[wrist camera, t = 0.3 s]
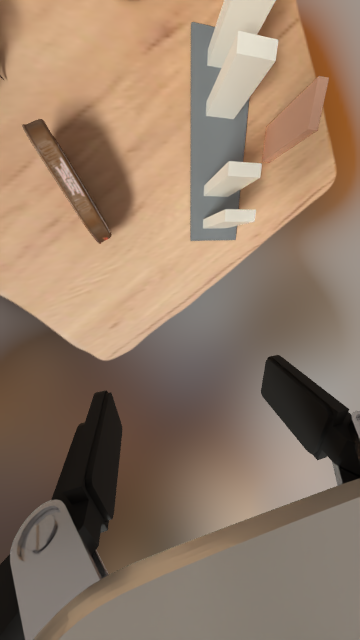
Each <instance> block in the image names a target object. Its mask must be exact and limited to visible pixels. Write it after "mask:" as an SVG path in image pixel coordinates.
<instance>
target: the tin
mask: <svg viewBox="0 0 360 640" xmlns="http://www.w3.org/2000/svg"><path fill="white" fill-rule="evenodd" d="M22 127H23V129H24V131H25V133H26V134H27V136H28V138H29V139H30V141H31V143H32V144H33V146H34V148H35V149H36V151H37V152H38V154H39V155H40V157H41V159H42V160H43V162H44V163H45V165H46V166H47V168H48V170H49V171H50V173H51V174H52V176H53V177H54V179H55V180H56V182H57V183H58V185H59V187H60V188H61V190H62V191H63V193H64V194H65V196H66V198H67V199H68V201H69V202H70V204H71V205H72V207H73V209H74V210H75V212H76V213H77V215H78V216H79V218H80V219H81V221H82V222H83V224H84V225H85V227H86V228H87V229H88V231H89V232H90V233H91V235H92V236H93V237H94V238H95V240H96V241H97V242H98V243H99V244H101V242H103V241H105V240H107V239H109V238H110V237H111V232H110V230H109V228H108V227H107V225H106V223H105V221H104V220H103V218H102V216H101V214H100V213H99V211H98V209H97V207H96V206H95V204H94V202H93V200H92V199H91V197H90V195H89V193H88V192H87V190H86V188H85V187H84V185H83V183H82V182H81V180H80V178H79V177H78V175H77V173H76V172H75V170H74V168H73V167H72V165H71V163H70V162H69V160H68V158H67V157H66V155H65V154H64V152H63V150H62V149H61V147H60V145H59V144H58V142H57V141H56V139H55V138H54V137H53V136H52V134H51V132H50V131H49V129H48V127H47V125H46V124H45V122H44V121H43V120H42V119H39V120H36V121H33V122H31V123H29V124H27V125H24V124H23V125H22Z"/></svg>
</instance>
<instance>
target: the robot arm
mask: <svg viewBox="0 0 360 640" xmlns="http://www.w3.org/2000/svg"><path fill="white" fill-rule="evenodd" d="M261 394H262V396H263V397H264V399H265V400H266V401H267V402H268V404H269V405H270V406H271V407H272V408H273V410H274V411H275V412H276V413H277V415H278V416H279V417H280V418H281V420H282V421H283V422H284V423H285V424H286V426H287V427H288V428H289V429H290V431H291V432H292V433H293V434H294V435H295V437H296V438H297V439H298V440H299V442H300V443H301V444H302V445H303V446H304V448H305V449H306V450H307V451H308V452H309V453H311V454H313V455H314V457H315V458H316V459H317V460H319V459H322V458H325V457H327V456H328V457H329V458H330V459H331V460H332V463H333V468H334V472H335V476H336V481H337V485H338V486H336V487H333V488H331V489H328V490H325V491H322V492H320V493H317V494H314V495H311V496H309V497H306V498H303V499H301V500H298V501H295V502H292V503H290V504H287V505H284V506H282V507H279V508H276V509H273V510H271V511H268V512H265V513H263V514H260V515H257V516H255V517H252V518H249V519H247V520H244V521H241V522H238V523H236V524H233V525H230V526H228V527H225V528H223V529H220V530H217V531H215V532H212V533H209V534H207V535H204V536H201V537H199V538H196V539H194V540H191V541H188V542H185V543H183V544H180V545H178V546H175V547H172V548H170V549H167V550H165V551H163V552H160V553H157V554H155V555H153V556H150V557H148V558H145V559H143V560H140V561H138V562H135V563H133V564H130V565H128V566H126V567H124V568H122V569H120V570H118V571H116V572H114V573H112V574H109V575H108V573H107V570H106V569H105V566H104V565H103V563H102V560H101V559H100V557H99V555H98V553H97V551H96V549H97V547H98V546H99V539H100V538H99V537H100V533H101V532H104V531H107V530H108V523H109V520H111V519H112V518H113V515H114V506H115V496H116V486H117V477H118V467H119V458H120V447H121V438H122V425H121V421H120V418H119V415H118V412H117V409H116V406H115V403H114V400H113V396H112V394H111V393H108V392H107V391H102V392H97V393H95V394H94V396H93V400H92V403H91V406H90V409H89V412H88V415H87V418H86V421H85V423H81V424H80V425H79V426H78V427H77V430H76V433H75V435H74V438H73V441H72V444H71V446H70V449H69V452H68V455H67V458H66V461H65V463H64V466H63V469H62V472H61V475H60V477H59V480H58V483H57V486H56V489H55V491H54V494H53V497H52V500H51V501H48V502H47V503H44V504H42V505H41V506H40V507H38V508H37V509H36V510H35V511H34V512H33V513H32V514H31V515H30V516H29V517H28V518H27V519H26V521H25V522H24V523H23V525H22V526H21V528H20V529H19V531H18V533H17V535H16V537H15V539H14V541H13V544H12V548H11V552H10V555H9V556H8V557H7V558H6V559H5V560H4V561H3V562H2V563H1V564H0V640H360V411H355V412H353V413H352V415H351V414H350V413H349V412H348V411H349V409H348V408H347V407H345V406H344V405H343V404H342V403H340V402H339V401H338V400H336V399H335V398H334V397H333V396H331V395H330V394H329V393H327V392H326V391H325V390H324V389H322V388H321V387H319V386H318V385H317V384H316V383H315V382H313V381H312V380H311V379H309V378H308V377H307V376H306V375H304V374H303V373H302V372H300V371H299V370H298V369H296V368H295V367H294V366H292V365H291V364H290V363H289V362H287V361H286V360H285V359H284V358H282V357H281V356H279V355H276V356H271V357H268V359H267V360H266V364H265V371H264V376H263V383H262V388H261Z"/></svg>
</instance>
